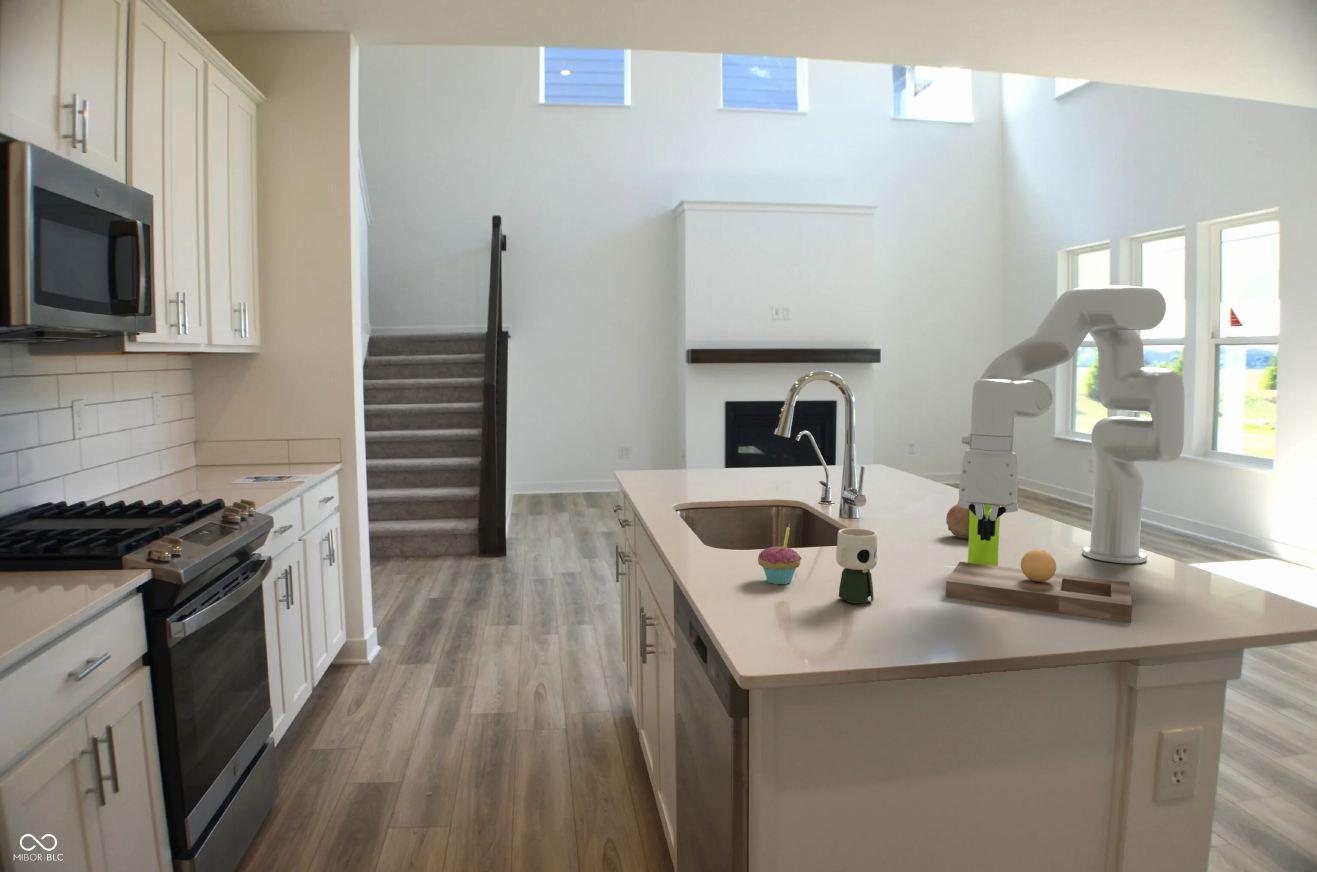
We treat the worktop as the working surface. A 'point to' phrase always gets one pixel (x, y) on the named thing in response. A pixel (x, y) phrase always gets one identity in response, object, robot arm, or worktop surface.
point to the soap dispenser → (983, 542)
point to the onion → (958, 521)
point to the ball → (1038, 565)
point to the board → (1042, 591)
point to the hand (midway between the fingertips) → (985, 539)
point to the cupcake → (779, 562)
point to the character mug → (856, 563)
